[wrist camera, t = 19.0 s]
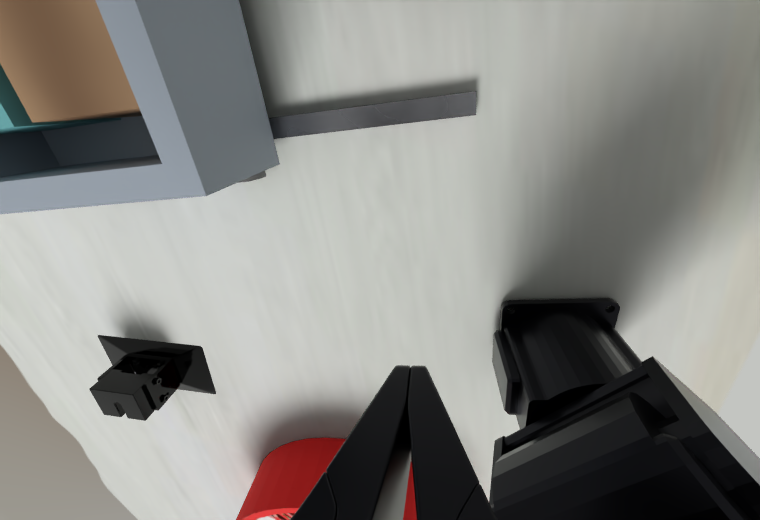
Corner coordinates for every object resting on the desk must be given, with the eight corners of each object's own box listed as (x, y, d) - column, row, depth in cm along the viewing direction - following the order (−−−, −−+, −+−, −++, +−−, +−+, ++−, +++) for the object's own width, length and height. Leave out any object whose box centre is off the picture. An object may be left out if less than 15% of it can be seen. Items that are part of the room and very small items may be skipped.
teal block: (71, 4, 13) (-80, -36, 9) (121, 119, 15) (14, 127, 11) (-11, 23, 14) (-183, -7, 10) (47, 130, 16) (-78, 140, 12)
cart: (219, -123, 13) (7, -353, 6) (289, 171, 18) (212, 212, 11) (-29, -54, 15) (-375, -170, 8) (96, 190, 20) (-59, 233, 13)
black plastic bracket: (114, 380, 30) (65, 424, 26) (82, 319, 27) (20, 359, 23) (237, 396, 29) (205, 446, 25) (219, 334, 25) (180, 379, 21)
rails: (477, -119, 12) (479, -128, 11) (474, 114, 15) (475, 114, 15) (0, -4, 16) (-12, -8, 15) (84, 160, 19) (76, 162, 19)
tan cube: (182, -21, 12) (67, -78, 8) (220, 105, 14) (141, 107, 10) (87, -1, 13) (-59, -45, 9) (135, 116, 15) (32, 122, 11)
